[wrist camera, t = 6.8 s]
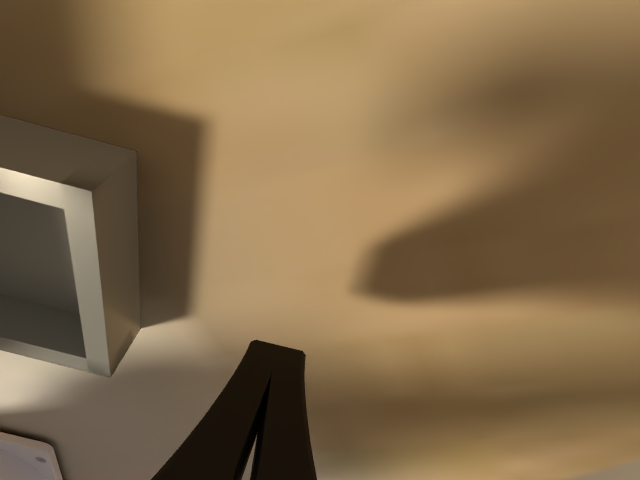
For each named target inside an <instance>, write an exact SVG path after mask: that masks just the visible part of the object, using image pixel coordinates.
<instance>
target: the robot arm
mask: <svg viewBox="0 0 640 480" xmlns="http://www.w3.org/2000/svg"><path fill="white" fill-rule="evenodd" d="M305 356H306V355H305V354H304V353H303V351H300V350H296V349H292V348H288V347H283V346H279V345H275V344H271V343H267V342H262V341H258V340H254V341H252V342H250V345H249V347H248V349H247V351H246V353H245V355H244V357H243V359H242V361H241V363H240V364H239V366H238V368H237V369H236V371H235V373H234V374H233V376H232V377H231V379H230V380H229V382H228V384H227V385H226V387H225V388H224V389H223V391H222V392H221V394H220V395H219V396H218V398H217V399H216V401H215V402H214V404H213V405H212V406H211V408H210V409H209V411H208V412H207V413H206V415H205V416H204V417H203V418H202V420H201V421H200V422H199V424H198V425H197V426H196V427H195V429H194V430H193V431H192V432H191V434H190V435H189V436H188V437H187V439H186V440H185V441H184V442H183V444H182V445H181V446H180V447H179V448H178V450H177V451H176V452H175V453H174V454H173V455H172V457H171V458H170V459H169V460H168V461H167V462H166V463H165V465H164V466H163V467H162V468H161V469H160V470H159V471H158V472H157V474H156V475H155V476H154V477H153V478H152V479H151V480H241V479H242V476H243V473H244V470H245V468H246V465H247V462H248V459H249V456H250V453H251V450H252V447H253V444H254V441H255V439H256V436H257V440H256V446H255V452H254V458H253V464H252V471H251V477H250V480H317V477H316V472H315V466H314V461H313V455H312V449H311V443H310V435H309V428H308V420H307V411H306V399H305V380H304V371H305ZM257 433H258V434H257ZM0 480H63V479H62V475H61V472H60V469H59V465H58V462H57V459H56V455H55V452H54V449H53V447H52V446H51V445H49V444H47V443H44V442H41V441H37V440H32V439H28V438H24V437H20V436H16V435H11V434H7V433H3V432H0Z"/></svg>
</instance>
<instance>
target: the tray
mask: <svg viewBox="0 0 640 480" xmlns="http://www.w3.org/2000/svg"><path fill="white" fill-rule="evenodd" d="M140 329H141V318H140V277H139V237H138V197H137V157H136V151H134V150H130V149H127V148H123V147H119V146H115V145H112V144H108V143H104V142H100V141H97V140H93V139H89V138H85V137H82V136H78V135H74V134H70V133H67V132H63V131H59V130H56V129H52V128H48V127H44V126H41V125H37V124H33V123H29V122H26V121H22V120H18V119H14V118H11V117H7V116H3V115H0V350H2V351H6V352H10V353H14V354H18V355H22V356H26V357H30V358H34V359H38V360H42V361H46V362H50V363H54V364H58V365H62V366H66V367H70V368H74V369H78V370H82V371H86V372H90V373H94V374H98V375H102V376H106V377H110V378H111V376H112V374H113V373H114V371H115V370H116V368H117V366H118V365H119V363H120V361H121V360H122V358H123V357H124V355H125V353H126V352H127V350H128V348H129V347H130V345H131V344H132V342H133V340H134V339H135V337H136V335H137V334H138V332H139V331H140Z"/></svg>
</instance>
